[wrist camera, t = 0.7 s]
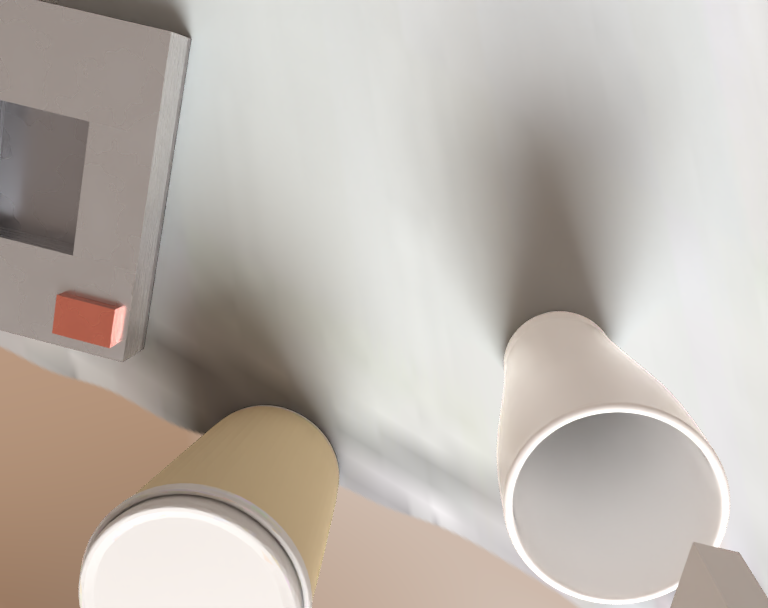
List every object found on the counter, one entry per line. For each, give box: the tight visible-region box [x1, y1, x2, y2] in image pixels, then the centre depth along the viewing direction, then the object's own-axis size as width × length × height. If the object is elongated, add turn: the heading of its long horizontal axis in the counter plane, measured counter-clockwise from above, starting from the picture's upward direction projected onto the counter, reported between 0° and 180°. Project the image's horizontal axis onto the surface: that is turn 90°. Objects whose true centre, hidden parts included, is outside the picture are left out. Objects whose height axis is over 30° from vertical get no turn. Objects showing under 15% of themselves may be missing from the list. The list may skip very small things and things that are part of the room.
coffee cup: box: [79, 405, 339, 608], centre depth 33 cm, size 9×9×12 cm
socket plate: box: [0, 0, 191, 362], centre depth 35 cm, size 16×12×3 cm
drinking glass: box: [497, 311, 730, 604], centre depth 29 cm, size 7×7×15 cm
